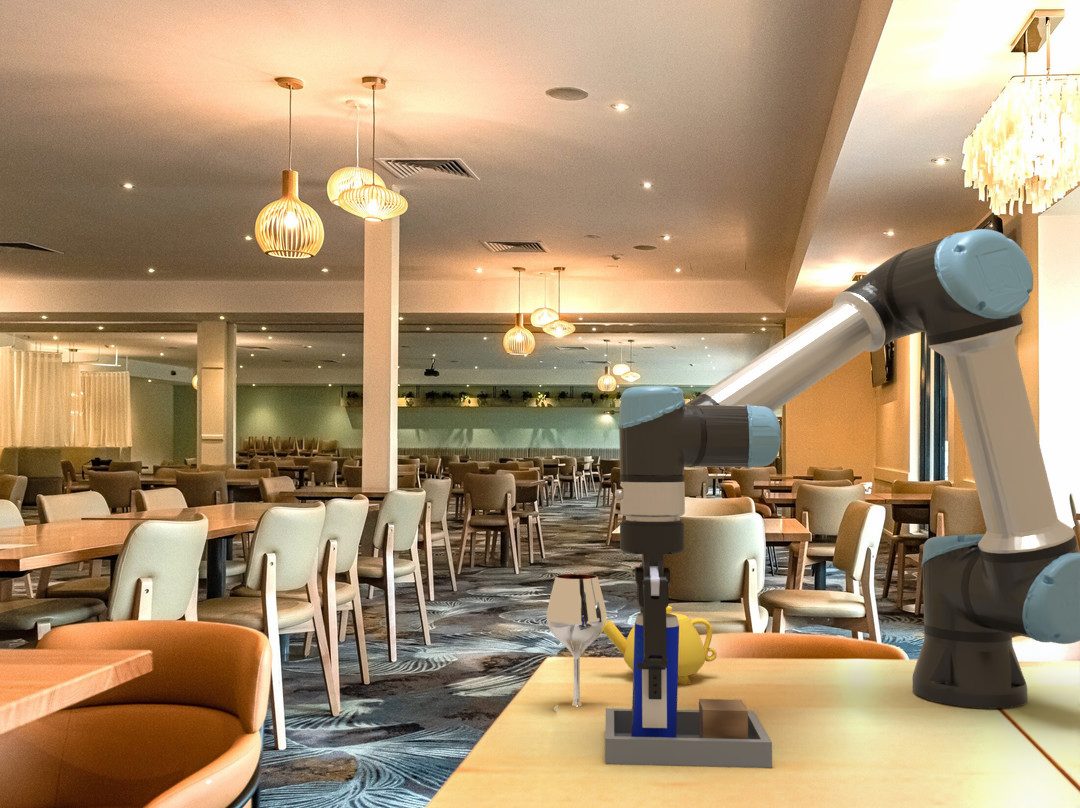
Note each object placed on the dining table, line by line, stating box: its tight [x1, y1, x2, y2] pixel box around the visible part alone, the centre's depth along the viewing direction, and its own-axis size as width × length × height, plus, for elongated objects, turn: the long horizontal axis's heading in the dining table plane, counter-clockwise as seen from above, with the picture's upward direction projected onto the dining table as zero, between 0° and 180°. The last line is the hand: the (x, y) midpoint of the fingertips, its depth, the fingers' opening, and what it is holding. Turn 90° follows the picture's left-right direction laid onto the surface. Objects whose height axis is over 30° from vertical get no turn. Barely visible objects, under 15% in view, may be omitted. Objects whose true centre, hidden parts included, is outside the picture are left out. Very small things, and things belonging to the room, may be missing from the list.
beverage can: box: [631, 612, 679, 738], centre depth 113 cm, size 5×5×15 cm
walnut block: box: [698, 698, 749, 739], centre depth 112 cm, size 5×5×5 cm
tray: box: [604, 707, 773, 769], centre depth 112 cm, size 18×13×4 cm
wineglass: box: [546, 573, 608, 713], centre depth 133 cm, size 8×8×18 cm
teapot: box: [602, 605, 717, 685], centre depth 152 cm, size 14×14×11 cm
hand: (653, 718), depth 113 cm, fingers open, 6 cm apart
